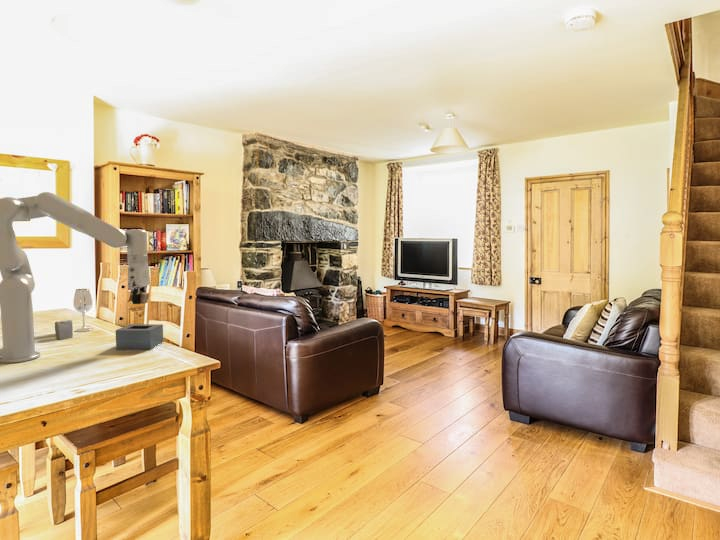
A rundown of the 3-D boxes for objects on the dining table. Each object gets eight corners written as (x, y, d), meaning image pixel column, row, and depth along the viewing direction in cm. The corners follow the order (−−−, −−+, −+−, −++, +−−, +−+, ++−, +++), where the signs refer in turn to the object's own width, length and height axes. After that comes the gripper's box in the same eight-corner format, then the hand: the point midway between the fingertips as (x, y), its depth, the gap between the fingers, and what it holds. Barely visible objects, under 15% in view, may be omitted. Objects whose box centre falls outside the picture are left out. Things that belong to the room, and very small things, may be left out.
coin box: (116, 349, 184) (115, 330, 183) (130, 342, 196) (130, 324, 195) (150, 349, 184) (150, 330, 183) (163, 342, 196) (162, 324, 195)
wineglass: (78, 332, 214) (76, 290, 213) (71, 330, 219) (70, 289, 217) (96, 329, 220) (94, 289, 219) (89, 327, 225) (87, 288, 223)
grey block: (79, 334, 208) (75, 318, 205) (62, 342, 200) (58, 326, 197) (66, 332, 209) (62, 316, 207) (49, 340, 201) (45, 324, 199)
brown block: (128, 300, 186) (130, 291, 186) (133, 298, 190) (135, 289, 190) (142, 304, 186) (145, 294, 186) (147, 302, 190) (149, 293, 190)
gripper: (137, 260, 179) (138, 306, 180) (155, 258, 195) (157, 300, 197) (118, 260, 179) (119, 306, 180) (138, 258, 195) (139, 300, 197)
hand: (139, 302), depth 188 cm, fingers closed on brown block, 4 cm apart
